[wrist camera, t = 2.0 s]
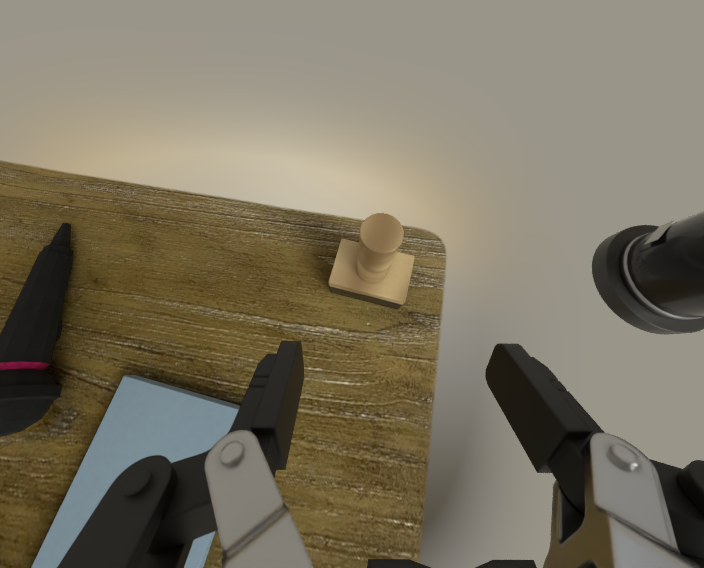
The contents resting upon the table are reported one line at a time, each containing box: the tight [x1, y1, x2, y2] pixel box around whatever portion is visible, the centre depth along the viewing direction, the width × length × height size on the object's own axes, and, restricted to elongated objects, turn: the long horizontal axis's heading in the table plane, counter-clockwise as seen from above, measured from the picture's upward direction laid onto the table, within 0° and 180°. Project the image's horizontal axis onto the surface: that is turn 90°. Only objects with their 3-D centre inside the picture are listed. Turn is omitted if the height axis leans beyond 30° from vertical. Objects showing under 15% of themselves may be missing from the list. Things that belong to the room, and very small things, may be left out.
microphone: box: [0, 223, 73, 437], centre depth 23 cm, size 6×6×20 cm
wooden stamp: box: [328, 213, 415, 309], centre depth 21 cm, size 7×4×11 cm, turn 75°
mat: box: [31, 375, 240, 568], centre depth 20 cm, size 12×20×1 cm, turn 165°
